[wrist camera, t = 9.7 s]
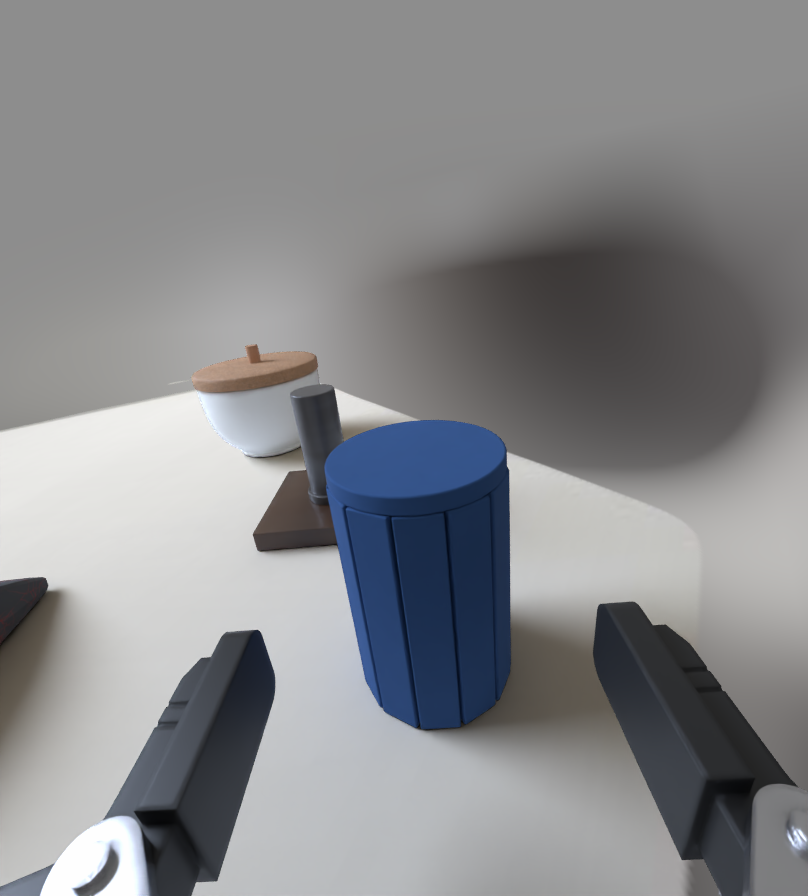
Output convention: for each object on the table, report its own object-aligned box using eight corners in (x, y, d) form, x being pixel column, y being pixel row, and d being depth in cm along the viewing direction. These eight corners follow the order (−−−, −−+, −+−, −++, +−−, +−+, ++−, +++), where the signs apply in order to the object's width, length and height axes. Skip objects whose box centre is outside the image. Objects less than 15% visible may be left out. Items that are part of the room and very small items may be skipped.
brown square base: (396, 475, 31) (383, 367, 28) (393, 540, 24) (373, 404, 21) (292, 485, 32) (266, 379, 29) (257, 551, 24) (217, 419, 21)
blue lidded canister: (494, 600, 19) (488, 413, 15) (525, 724, 14) (528, 486, 10) (371, 609, 19) (339, 427, 16) (358, 734, 14) (305, 506, 11)
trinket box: (265, 422, 47) (243, 337, 43) (350, 425, 43) (334, 331, 39) (190, 465, 38) (154, 361, 34) (289, 473, 34) (261, 357, 30)
